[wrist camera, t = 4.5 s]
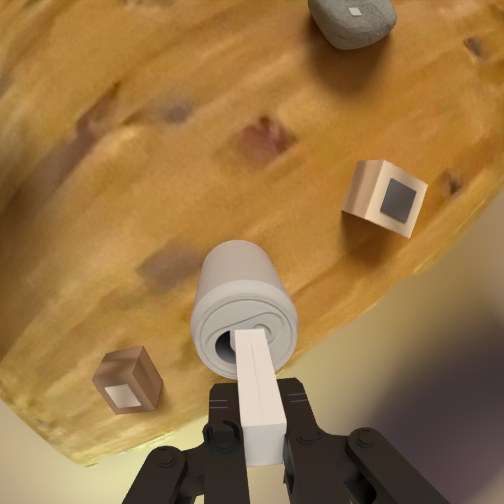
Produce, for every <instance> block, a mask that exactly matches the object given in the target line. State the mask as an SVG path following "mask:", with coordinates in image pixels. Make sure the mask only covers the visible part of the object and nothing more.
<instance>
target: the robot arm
mask: <svg viewBox="0 0 504 504" xmlns="http://www.w3.org/2000/svg"><path fill="white" fill-rule="evenodd" d="M234 332H235V350H236V368H237V383H218V384H214V386H213V387H212V389H211V390H210V397H209V420H208V423H207V424H206V425H205V426H204V428H203V431H202V432H203V437H204V442H203V443H202V444H201V445H199V446H198V447H196V448H192V449H188V450H184V451H180V450H179V449H178V448H175V447H173V446H161V447H157V448H155V449H153V450H152V451H151V452H150V453H149V455H148V456H147V458H146V460H145V462H144V464H143V466H142V467H141V469H140V471H139V473H138V475H137V476H136V478H135V480H134V482H133V484H132V486H131V488H130V489H129V491H128V493H127V495H126V497H125V498H124V500H123V502H122V504H194V502H195V499H196V496H199V495H203V494H204V504H250V499H249V489H248V479H247V470H246V467H254V466H267V465H276V464H283V460H284V465H285V473H284V481H283V483H286V485H287V490H288V495H289V500H290V504H351V503H350V501H351V502H352V503H353V504H450V503H449V502H448V501H447V500H446V499H445V498H444V497H443V496H442V495H441V494H440V493H439V492H438V491H437V490H436V489H435V488H434V487H433V486H432V485H431V484H430V483H429V482H428V481H427V480H426V479H425V478H424V477H423V476H422V475H421V474H420V473H419V472H418V471H417V470H416V469H415V468H414V467H413V466H412V465H411V464H410V463H409V462H408V461H407V460H406V459H405V458H404V457H403V456H402V455H401V454H400V453H399V452H398V451H397V450H396V449H395V448H394V447H393V446H392V445H391V444H390V443H389V442H388V441H387V440H386V439H385V438H384V437H383V436H382V434H380V433H379V432H378V431H377V430H375V429H372V428H359V429H356V430H354V431H353V432H352V433H351V434H350V435H349V436H341V435H331V434H328V433H326V432H324V431H323V430H322V429H320V428H319V427H318V425H317V423H316V421H315V418H314V415H313V412H312V409H311V406H310V404H309V401H308V398H307V395H306V393H305V390H304V387H303V384H302V383H300V381H299V380H298V379H296V378H285V379H276V377H275V373H274V369H273V365H272V360H271V356H270V352H269V348H268V344H267V340H266V336H265V332H264V329H247V330H234ZM349 499H350V500H349Z"/></svg>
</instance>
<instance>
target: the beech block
mask: <svg viewBox="0 0 504 504" xmlns="http://www.w3.org/2000/svg"><path fill="white" fill-rule="evenodd" d="M427 186H428V185H427V184H425V183H424V182H422V181H421V180H419V179H417V178H416V177H414V176H412V175H410V174H409V173H407V172H405V171H404V170H402V169H400V168H398V167H396V166H395V165H393V164H391V163H389V162H387V161H386V160H366V161H358V163H357V166H356V169H355V172H354V175H353V178H352V181H351V184H350V187H349V190H348V193H347V195H346V198H345V201H344V204H343V207H342V209H341V210H343V211H345V212H348V213H350V214H352V215H355V216H357V217H360V218H362V219H364V220H367V221H369V222H371V223H374V224H376V225H378V226H380V227H383V228H385V229H388V230H390V231H393V232H395V233H398V234H400V235H402V236H405V237H407V238H410V236H411V233H412V231H413V228H414V225H415V222H416V219H417V217H418V214H419V211H420V208H421V205H422V202H423V199H424V195H425V192H426V189H427Z"/></svg>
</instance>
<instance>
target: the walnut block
mask: <svg viewBox="0 0 504 504" xmlns="http://www.w3.org/2000/svg"><path fill="white" fill-rule="evenodd" d="M162 381H163V380H162V378H161V377H160V375H159V373H158V372H157V370H156V368H155V366H154V364H153V363H152V361H151V359H150V357H149V355H148V354H147V352H146V350H145V348H144V346H140V347H135V348H131V349H126V350H121V351H117V352H112V353H107V354H106V355H105V357H104V358H103V360H102V362H101V364H100V366H99V367H98V369H97V371H96V373H95V375H94V376H93V378H92V382H93V383H94V385H95V386H96V388H97V389H98V391H99V392H100V394H101V395H102V396H103V398H104V399H105V401H106V402H107V403H108V405H109V406H110V407H111V409H112V410H113V411H114V413H115V414H116V415H118V414H128V413H137V412H145V411H152V410H156V406H157V402H158V398H159V394H160V389H161V385H162Z"/></svg>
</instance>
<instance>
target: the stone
mask: <svg viewBox="0 0 504 504" xmlns="http://www.w3.org/2000/svg"><path fill="white" fill-rule="evenodd" d="M308 6H309V10H310V12H311V15H312V17H313V18H314V20H315V22H316V24H317V25H318V27H319V29H320V30H321V32H322V33H323V35H324V36H325V38H326V39H327V40H328V41H329V43H330V44H331V45H333V46H334V47H335V48H337V49H340V50H352V49H357V48H362V47H365V46H368V45H371V44H374V43H376V42H378V41H379V40H381V39H382V38H383V37H384V36H385V35H386V34H387V33H389V32H390V31H391V30H392V28H393V27H394V26H395V24H396V21H397V16H396V12H395V9H394V7H393V5H392V3H391V1H390V0H308Z"/></svg>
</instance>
